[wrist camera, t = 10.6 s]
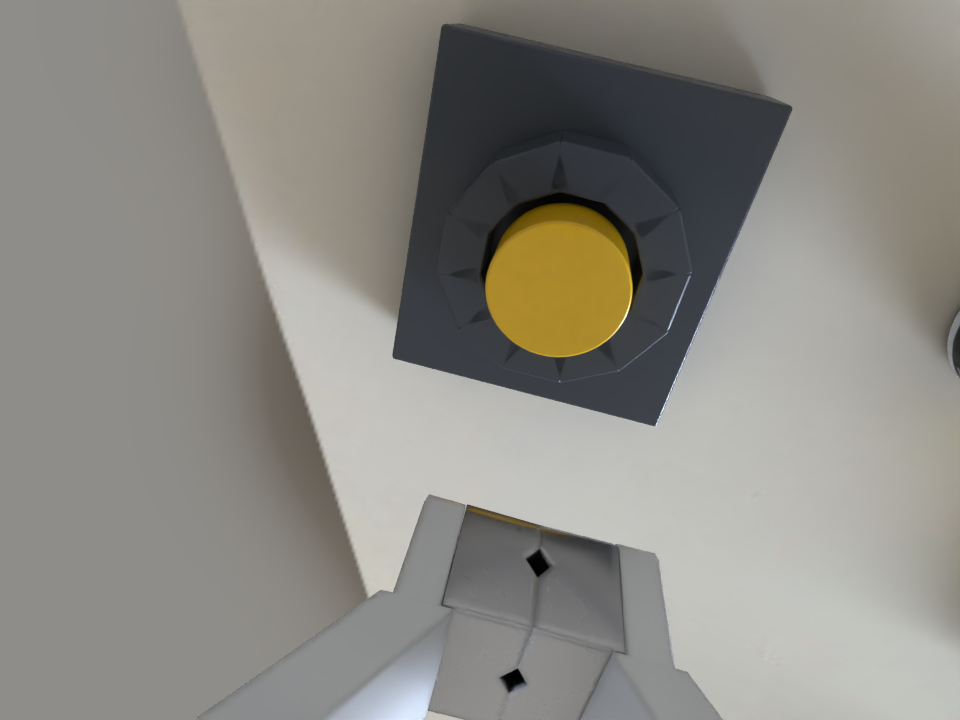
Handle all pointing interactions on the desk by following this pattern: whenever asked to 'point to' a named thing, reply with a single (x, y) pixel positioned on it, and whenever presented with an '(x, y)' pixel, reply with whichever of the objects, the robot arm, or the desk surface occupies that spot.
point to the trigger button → (559, 280)
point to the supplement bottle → (954, 345)
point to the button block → (584, 181)
